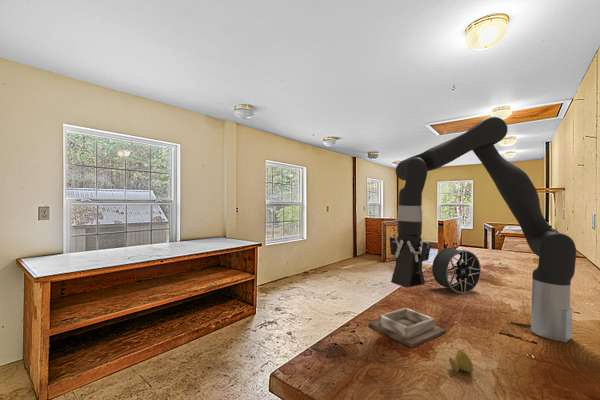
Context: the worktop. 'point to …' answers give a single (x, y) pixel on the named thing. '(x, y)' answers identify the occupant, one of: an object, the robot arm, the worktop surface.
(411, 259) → the phone stand
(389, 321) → the collar stand
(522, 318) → the worktop surface
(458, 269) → the wheel rim
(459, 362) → the knob
